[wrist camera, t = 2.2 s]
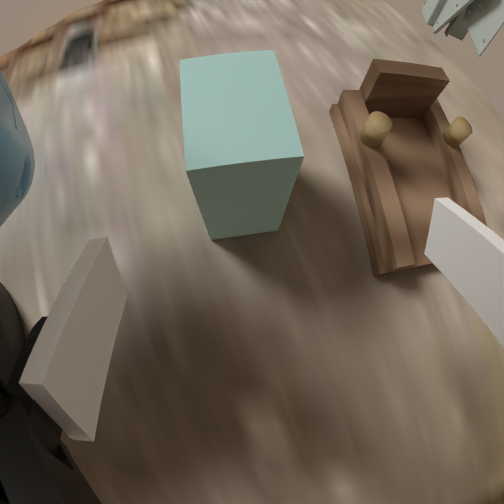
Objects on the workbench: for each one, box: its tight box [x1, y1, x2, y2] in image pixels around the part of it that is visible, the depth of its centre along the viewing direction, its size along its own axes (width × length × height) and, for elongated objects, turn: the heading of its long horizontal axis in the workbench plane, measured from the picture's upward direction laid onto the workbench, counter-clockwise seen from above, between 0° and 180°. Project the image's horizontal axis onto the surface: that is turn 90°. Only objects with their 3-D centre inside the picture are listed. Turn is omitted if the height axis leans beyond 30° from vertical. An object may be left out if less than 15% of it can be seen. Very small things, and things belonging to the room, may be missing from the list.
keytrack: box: [329, 59, 487, 276], centre depth 22 cm, size 15×11×7 cm
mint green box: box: [180, 50, 304, 240], centre depth 19 cm, size 7×5×11 cm
